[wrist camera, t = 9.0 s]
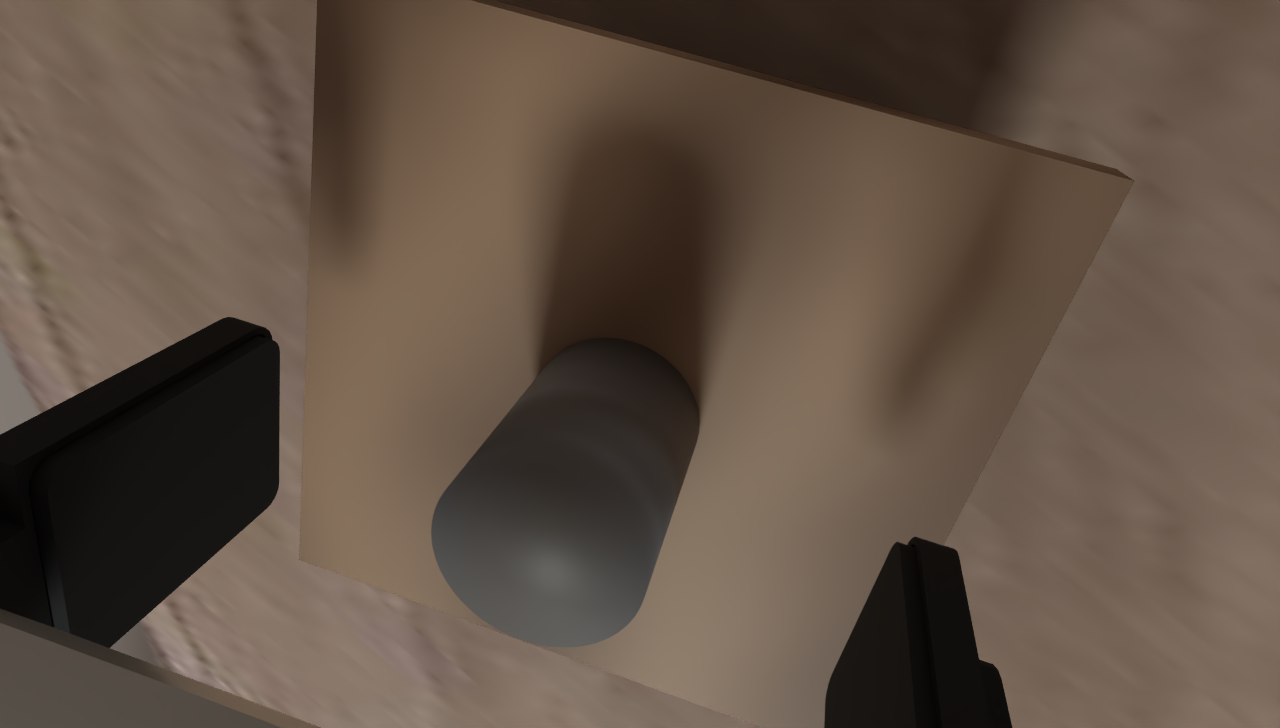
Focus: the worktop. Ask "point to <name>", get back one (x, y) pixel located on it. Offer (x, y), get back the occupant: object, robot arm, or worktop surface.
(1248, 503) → the worktop surface
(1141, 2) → the worktop surface
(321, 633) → the worktop surface
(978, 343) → the lid
